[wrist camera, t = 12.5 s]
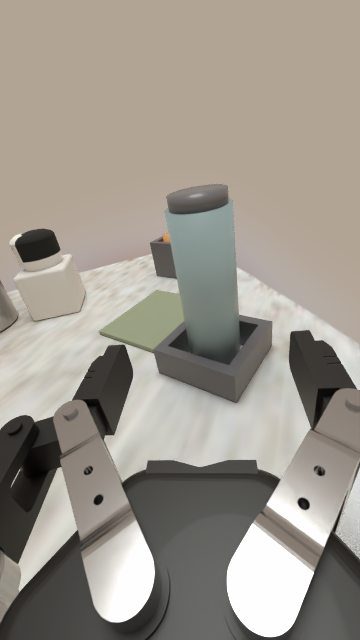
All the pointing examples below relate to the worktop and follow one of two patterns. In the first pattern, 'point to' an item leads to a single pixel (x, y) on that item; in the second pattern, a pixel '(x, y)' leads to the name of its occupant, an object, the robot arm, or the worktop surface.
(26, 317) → the worktop surface
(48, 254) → the medicine bottle
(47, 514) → the worktop surface
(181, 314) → the rubber mat
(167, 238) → the plunger
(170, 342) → the cartridge socket
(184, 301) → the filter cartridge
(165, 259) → the gray square socket block
